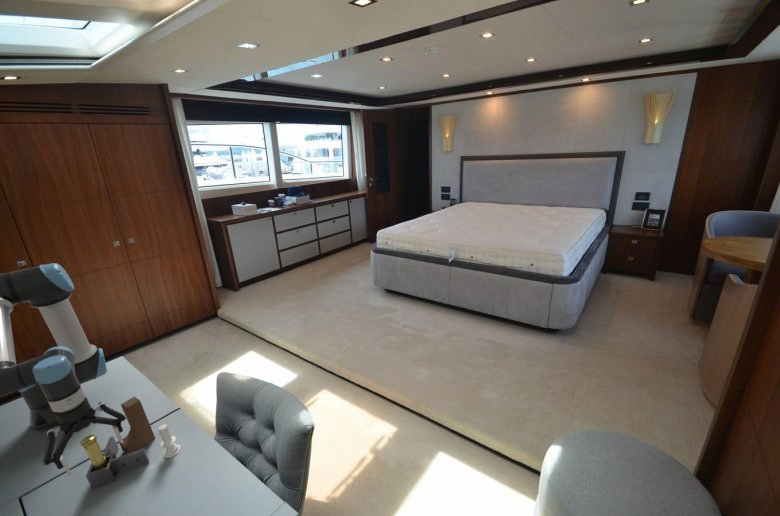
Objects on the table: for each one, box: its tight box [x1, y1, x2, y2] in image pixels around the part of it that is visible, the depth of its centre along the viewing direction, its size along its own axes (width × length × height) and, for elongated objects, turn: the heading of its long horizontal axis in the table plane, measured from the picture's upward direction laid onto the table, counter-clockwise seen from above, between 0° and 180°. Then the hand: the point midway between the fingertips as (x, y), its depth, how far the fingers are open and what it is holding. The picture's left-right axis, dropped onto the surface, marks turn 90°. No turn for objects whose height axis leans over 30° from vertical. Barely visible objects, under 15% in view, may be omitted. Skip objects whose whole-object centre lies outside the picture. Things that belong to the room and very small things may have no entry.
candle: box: [158, 423, 182, 459], centre depth 117 cm, size 5×5×12 cm
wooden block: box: [119, 396, 156, 455], centre depth 120 cm, size 9×4×18 cm, turn 148°
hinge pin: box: [79, 434, 108, 471], centre depth 109 cm, size 4×4×17 cm
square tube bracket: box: [85, 436, 150, 490], centre depth 116 cm, size 15×15×6 cm
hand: (96, 456), depth 108 cm, fingers open, 13 cm apart
